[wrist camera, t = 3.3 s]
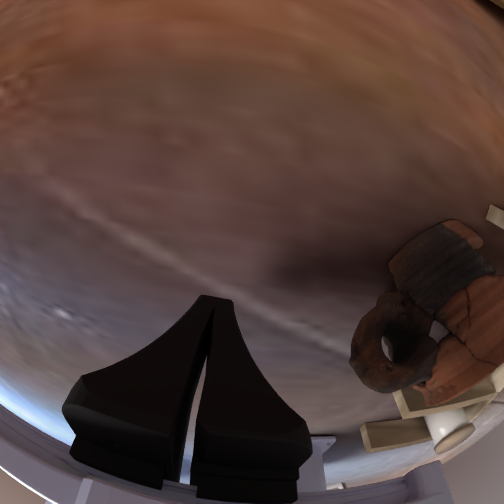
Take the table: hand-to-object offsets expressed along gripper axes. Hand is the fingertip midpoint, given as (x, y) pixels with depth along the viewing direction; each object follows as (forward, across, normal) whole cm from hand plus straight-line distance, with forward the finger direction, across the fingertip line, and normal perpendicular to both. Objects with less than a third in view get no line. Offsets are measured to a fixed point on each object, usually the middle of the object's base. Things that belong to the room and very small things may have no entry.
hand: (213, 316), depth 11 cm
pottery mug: (+3, -12, -1) cm, 12 cm away
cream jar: (+3, -23, +10) cm, 25 cm away
